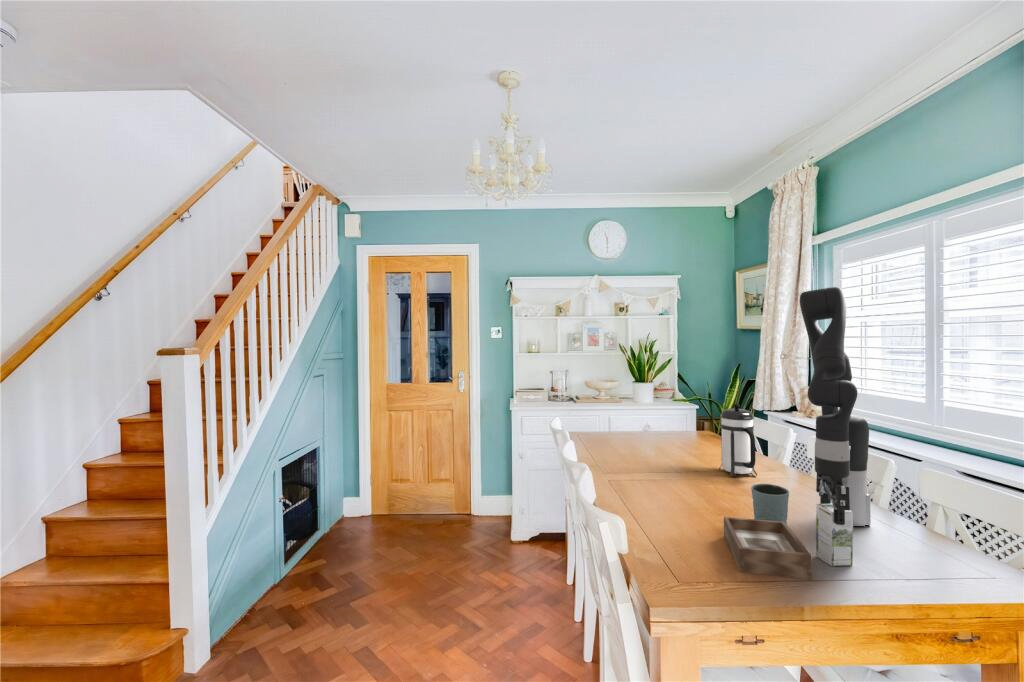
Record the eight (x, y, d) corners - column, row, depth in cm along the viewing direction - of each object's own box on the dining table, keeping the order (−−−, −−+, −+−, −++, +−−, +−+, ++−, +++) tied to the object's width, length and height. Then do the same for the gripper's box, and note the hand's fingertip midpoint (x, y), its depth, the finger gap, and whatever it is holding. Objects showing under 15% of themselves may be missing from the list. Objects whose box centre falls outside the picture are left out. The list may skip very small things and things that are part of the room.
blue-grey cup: (789, 524, 141) (788, 486, 140) (789, 537, 132) (789, 496, 132) (752, 518, 146) (752, 481, 146) (750, 530, 137) (750, 491, 137)
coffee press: (711, 474, 191) (710, 404, 191) (727, 466, 202) (726, 399, 202) (755, 483, 178) (754, 408, 178) (769, 474, 189) (768, 403, 189)
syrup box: (836, 555, 121) (835, 501, 121) (853, 566, 115) (853, 510, 115) (815, 556, 121) (815, 502, 120) (832, 567, 115) (831, 511, 115)
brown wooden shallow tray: (784, 542, 129) (784, 521, 129) (811, 579, 110) (811, 555, 109) (723, 537, 133) (723, 516, 133) (739, 571, 114) (739, 548, 114)
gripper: (861, 464, 110) (861, 530, 110) (836, 450, 124) (836, 509, 124) (826, 462, 112) (826, 527, 112) (805, 448, 126) (805, 506, 126)
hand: (832, 517), depth 118 cm, fingers open, 8 cm apart
